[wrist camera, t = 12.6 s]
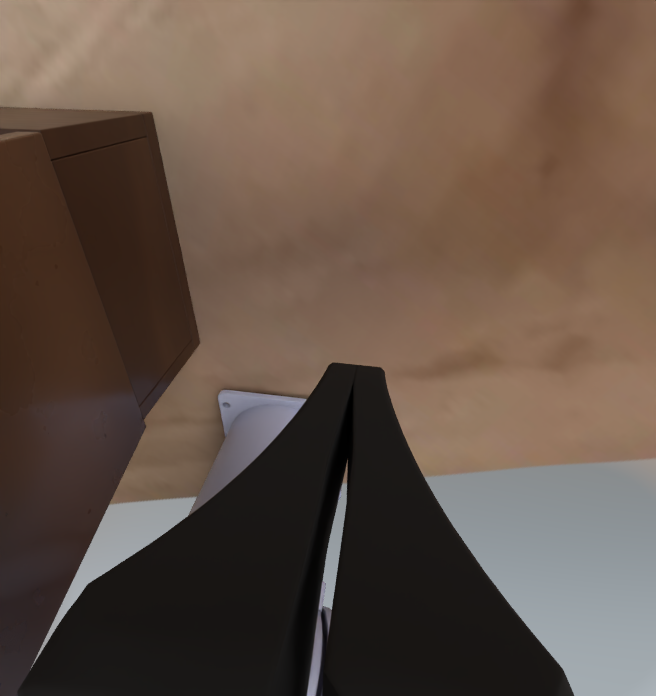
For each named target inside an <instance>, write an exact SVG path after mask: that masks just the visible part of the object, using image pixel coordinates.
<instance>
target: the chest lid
mask: <svg viewBox="0 0 656 696" xmlns="http://www.w3.org/2000/svg"><path fill="white" fill-rule="evenodd" d="M145 428H146V425H145V422H144V420H143V417H142V414H141V411H140V408H139V406H138V403H137V400H136V397H135V394H134V392H133V389H132V386H131V383H130V380H129V378H128V375H127V372H126V369H125V366H124V364H123V361H122V358H121V355H120V352H119V350H118V347H117V344H116V341H115V338H114V336H113V333H112V330H111V327H110V324H109V322H108V319H107V316H106V313H105V310H104V308H103V305H102V302H101V299H100V296H99V294H98V291H97V288H96V285H95V282H94V280H93V277H92V274H91V271H90V268H89V266H88V263H87V260H86V257H85V254H84V252H83V249H82V246H81V243H80V240H79V238H78V235H77V232H76V229H75V226H74V224H73V221H72V218H71V215H70V212H69V210H68V207H67V204H66V201H65V198H64V196H63V193H62V190H61V187H60V184H59V182H58V179H57V176H56V173H55V170H54V168H53V165H52V162H51V159H50V156H49V154H48V151H47V148H46V145H45V142H44V140H43V137H42V134H41V133H39V132H13V133H8V134H3V135H0V696H18V694H17V691H18V689H19V688H20V686H21V684H22V683H23V681H24V680H25V678H26V676H27V675H28V673H29V671H30V669H31V667H32V665H33V663H34V661H35V659H36V657H37V654H38V652H39V650H40V648H41V646H42V644H43V642H44V639H45V638H46V635H47V633H48V631H49V629H50V627H51V625H52V623H53V621H54V619H55V617H56V614H57V612H58V610H59V608H60V606H61V604H62V602H63V600H64V598H65V595H66V594H67V592H68V589H69V587H70V585H71V583H72V581H73V579H74V577H75V575H76V573H77V570H78V569H79V566H80V564H81V562H82V560H83V558H84V556H85V554H86V552H87V549H88V548H89V545H90V543H91V541H92V539H93V537H94V535H95V533H96V531H97V529H98V527H99V524H100V522H101V520H102V518H103V516H104V514H105V511H106V510H107V508H108V506H109V504H110V501H111V499H112V497H113V495H114V493H115V491H116V489H117V487H118V485H119V483H120V480H121V478H122V476H123V474H124V472H125V470H126V468H127V466H128V464H129V462H130V460H131V457H132V455H133V453H134V451H135V449H136V447H137V445H138V443H139V441H140V439H141V436H142V434H143V432H144V430H145Z"/></svg>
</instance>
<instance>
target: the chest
mask: <svg viewBox="0 0 656 696" xmlns="http://www.w3.org/2000/svg"><path fill="white" fill-rule="evenodd" d="M13 132H39V133H41V134H42V137H43V140H44V142H45V145H46V148H47V151H48V154H49V156H50V159H51V162H52V165H53V168H54V170H55V173H56V176H57V179H58V182H59V184H60V187H61V190H62V193H63V196H64V198H65V201H66V204H67V207H68V210H69V212H70V215H71V218H72V221H73V224H74V226H75V229H76V232H77V235H78V238H79V240H80V243H81V246H82V249H83V252H84V254H85V257H86V260H87V263H88V266H89V268H90V271H91V274H92V277H93V280H94V282H95V285H96V288H97V291H98V294H99V296H100V299H101V302H102V305H103V308H104V310H105V313H106V316H107V319H108V322H109V324H110V327H111V330H112V333H113V336H114V338H115V341H116V344H117V347H118V350H119V352H120V355H121V358H122V361H123V364H124V366H125V369H126V372H127V375H128V378H129V380H130V383H131V386H132V389H133V392H134V394H135V397H136V400H137V403H138V406H139V408H140V411H141V414H142V417H143V420H144V418H145V417H146V416H147V414H148V413H149V412H150V410H151V409H152V408H153V406H154V405H155V403H156V402H157V401H158V399H159V398H160V397H161V395H162V394H163V393H164V391H165V390H166V389H167V387H168V386H169V385H170V383H171V382H172V381H173V379H174V378H175V376H176V375H177V374H178V372H179V371H180V370H181V368H182V367H183V366H184V364H185V363H186V362H187V360H188V359H189V358H190V356H191V355H192V353H193V352H194V350H195V349H196V348H197V346H198V345H199V344H200V340H199V336H198V331H197V326H196V321H195V316H194V312H193V307H192V302H191V297H190V292H189V288H188V283H187V278H186V273H185V268H184V264H183V259H182V254H181V249H180V244H179V240H178V235H177V230H176V225H175V220H174V216H173V211H172V206H171V201H170V196H169V192H168V187H167V182H166V177H165V172H164V168H163V163H162V158H161V153H160V148H159V144H158V139H157V134H156V129H155V124H154V120H153V115H152V113H151V112H135V111H103V110H72V109H40V108H9V107H0V135H3V134H8V133H13Z"/></svg>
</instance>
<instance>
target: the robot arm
mask: <svg viewBox="0 0 656 696" xmlns="http://www.w3.org/2000/svg"><path fill="white" fill-rule="evenodd" d="M218 401H219V406H220V412H221V417H222V422H223V427H224V432H225V437H226V438H225V440H224V442H223V444H222V446H221V448H220V450H219V453H218V455H217V457H216V459H215V461H214V463H213V465H212V467H211V469H210V471H209V473H208V476H207V478H206V480H205V482H204V484H203V486H202V488H201V490H200V492H199V494H198V496H197V499H196V501H195V503H194V505H193V507H192V509H191V511H190V513H189V515H188V517H186V518H185V519H184V520H182V521H181V522H180V523H178V524H177V525H175V526H174V527H173V528H171V529H170V530H169V531H168V532H166V533H165V534H163V535H162V536H161V537H159V538H158V539H157V540H155V541H153V542H152V543H151V544H149V545H148V546H146V547H145V548H143V549H141V550H140V551H139V552H137V553H135V554H134V555H133V556H131V557H129V558H128V559H126V560H125V561H123V562H121V563H120V564H118V565H117V566H115V567H114V568H112V569H111V570H110V571H108V572H106V573H105V574H103V575H102V576H100V577H98V578H97V579H95V580H94V581H92V582H91V583H89V584H88V585H87V586H86V588H85V589H84V590H83V592H82V593H81V595H80V596H79V597H78V599H77V600H76V602H75V603H74V604H73V605H72V606H71V608H70V609H69V610H68V612H67V613H66V614H65V616H64V617H63V619H62V620H61V622H60V623H59V625H58V626H57V628H56V629H55V631H54V633H53V634H52V636H51V638H50V639H49V641H48V643H47V644H46V646H45V647H44V649H43V650H42V652H41V654H40V655H39V657H38V659H37V660H36V662H35V663H34V665H33V667H32V668H31V670H30V671H29V673H28V675H27V676H26V678H25V680H24V681H23V683H22V684H21V686H20V688H19V689H18V691H17V694H18V696H574V694H573V692H572V689H571V687H570V684H569V682H568V680H567V677H566V675H565V673H564V671H563V669H562V668H561V667H560V665H559V664H558V663H557V662H556V660H555V659H554V658H553V657H552V656H551V654H550V653H549V652H548V651H547V650H546V648H545V647H544V646H543V645H542V644H541V642H540V641H539V640H538V639H537V638H536V637H535V635H534V634H533V633H532V632H531V630H530V629H529V628H528V627H527V626H526V624H525V623H524V622H523V621H522V619H521V618H520V617H519V616H518V615H517V613H516V612H515V611H514V609H513V608H512V607H511V606H510V604H509V603H508V602H507V601H506V599H505V598H504V597H503V595H502V594H501V593H500V591H499V590H498V589H497V587H496V586H495V585H494V583H493V582H492V581H491V580H490V578H489V577H488V576H487V574H486V573H485V572H484V570H483V569H482V567H481V566H480V564H479V563H478V562H477V560H476V559H475V557H474V556H473V554H472V553H471V551H470V550H469V549H468V547H467V546H466V544H465V543H464V541H463V540H462V538H461V537H460V536H459V534H458V533H457V531H456V530H455V528H454V527H453V525H452V524H451V522H450V521H449V519H448V517H447V516H446V514H445V513H444V511H443V509H442V508H441V506H440V504H439V503H438V501H437V499H436V498H435V496H434V494H433V492H432V491H431V489H430V487H429V486H428V484H427V482H426V480H425V478H424V476H423V474H422V473H421V471H420V469H419V467H418V465H417V463H416V461H415V459H414V456H413V454H412V452H411V450H410V448H409V446H408V444H407V441H406V439H405V437H404V435H403V432H402V430H401V427H400V424H399V422H398V419H397V417H396V414H395V411H394V409H393V406H392V403H391V399H390V396H389V393H388V389H387V385H386V379H385V372H384V370H383V369H382V368H381V367H372V366H362V365H352V364H343V363H332V364H330V365H329V366H328V368H327V370H326V372H325V373H324V375H323V377H322V378H321V380H320V381H319V383H318V385H317V386H316V387H315V389H314V390H313V392H312V393H311V395H310V396H309V397H308V399H303V398H294V397H285V396H277V395H268V394H259V393H250V392H242V391H233V390H222V391H221V392H220V393H219V395H218ZM226 402H227V403H229V404H227V403H226ZM347 460H348V474H347V505H346V512H345V520H344V527H343V535H342V542H341V550H340V557H339V564H338V571H337V578H336V585H335V592H334V599H333V606H332V610H331V609H330V608H327V607H324V606H323V600H324V593H325V586H326V583H325V582H323V573H324V567H325V559H326V554H327V548H328V543H329V538H330V534H331V529H332V524H333V520H334V516H335V512H336V508H337V503H338V500H339V499H340V498H341V486H342V482H343V477H344V473H345V469H346V464H347Z"/></svg>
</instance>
